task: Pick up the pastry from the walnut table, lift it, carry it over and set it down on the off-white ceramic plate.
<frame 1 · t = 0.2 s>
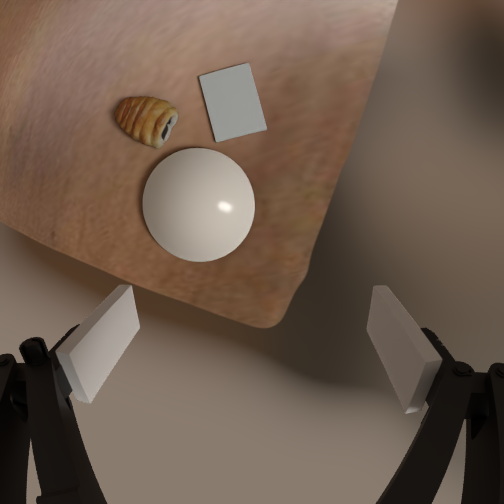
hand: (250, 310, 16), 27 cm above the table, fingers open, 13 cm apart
napkin: (232, 101, 37), on the table
pastry: (150, 121, 39), on the table
plate: (197, 204, 42), on the table
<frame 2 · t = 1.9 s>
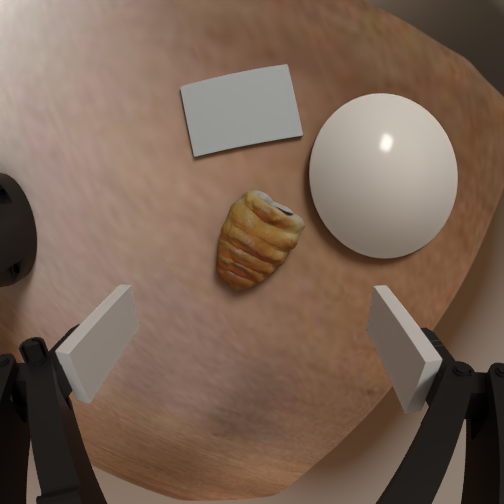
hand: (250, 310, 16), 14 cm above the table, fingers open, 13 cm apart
napkin: (240, 108, 25), on the table
pastry: (258, 235, 29), on the table
plate: (387, 176, 26), on the table
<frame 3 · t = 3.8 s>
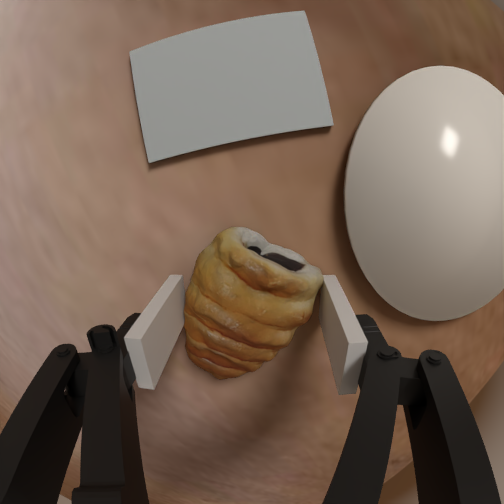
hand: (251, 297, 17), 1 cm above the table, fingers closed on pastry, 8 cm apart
napkin: (226, 80, 14), on the table
pastry: (249, 295, 18), on the table, touching gripper
plate: (457, 196, 15), on the table
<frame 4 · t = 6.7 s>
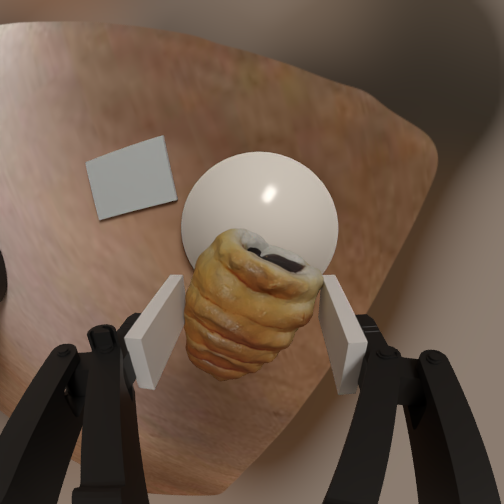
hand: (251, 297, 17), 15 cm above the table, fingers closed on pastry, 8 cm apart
napkin: (129, 179, 30), on the table
pastry: (249, 296, 18), point 14 cm above the table, touching gripper
plate: (259, 229, 31), on the table
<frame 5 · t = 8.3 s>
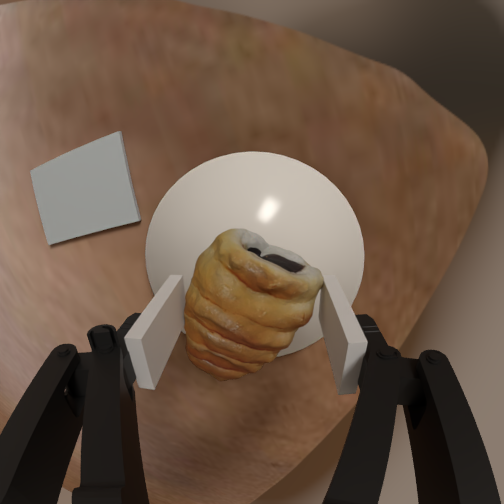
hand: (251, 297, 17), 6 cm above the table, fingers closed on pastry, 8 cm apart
napkin: (79, 192, 21), on the table
pastry: (249, 296, 18), point 5 cm above the table, touching gripper
plate: (254, 262, 22), on the table
when the fingers open (3 cm above the table, at t = 9.7 s): pastry drops 1 cm, resting on plate.
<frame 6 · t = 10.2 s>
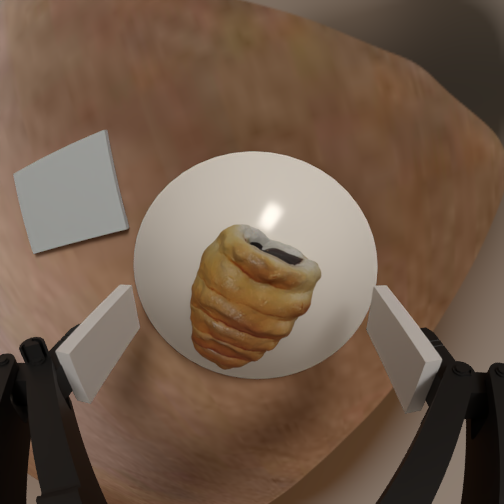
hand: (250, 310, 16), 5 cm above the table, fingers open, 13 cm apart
napkin: (64, 197, 19), on the table
pastry: (251, 289, 19), point 1 cm above the table, touching plate
plate: (254, 275, 20), on the table
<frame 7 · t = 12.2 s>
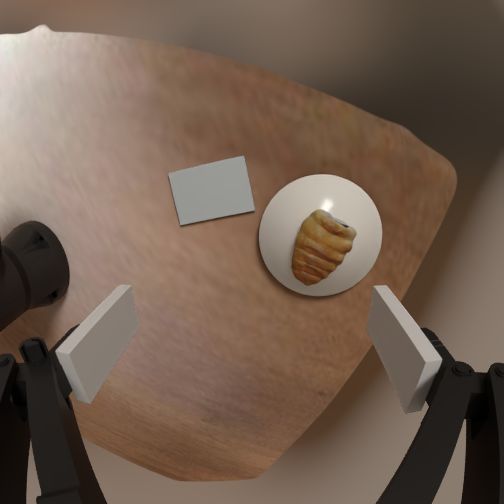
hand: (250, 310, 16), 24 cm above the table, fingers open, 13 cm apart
napkin: (211, 190, 38), on the table
pastry: (321, 242, 38), point 1 cm above the table, touching plate
plate: (321, 236, 38), on the table
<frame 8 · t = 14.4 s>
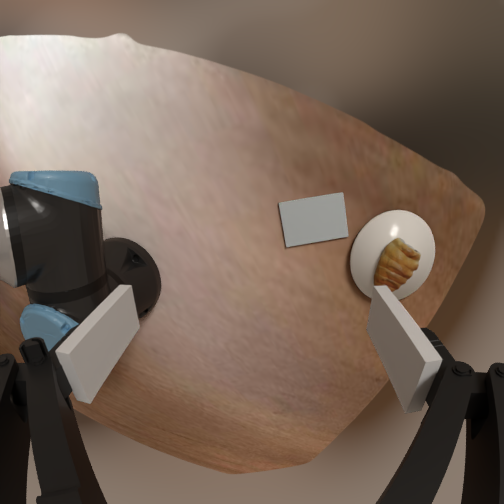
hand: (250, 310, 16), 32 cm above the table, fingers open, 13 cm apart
napkin: (314, 219, 46), on the table
pastry: (394, 261, 46), point 1 cm above the table, touching plate
plate: (393, 255, 47), on the table
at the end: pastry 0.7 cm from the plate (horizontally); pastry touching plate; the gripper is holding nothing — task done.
